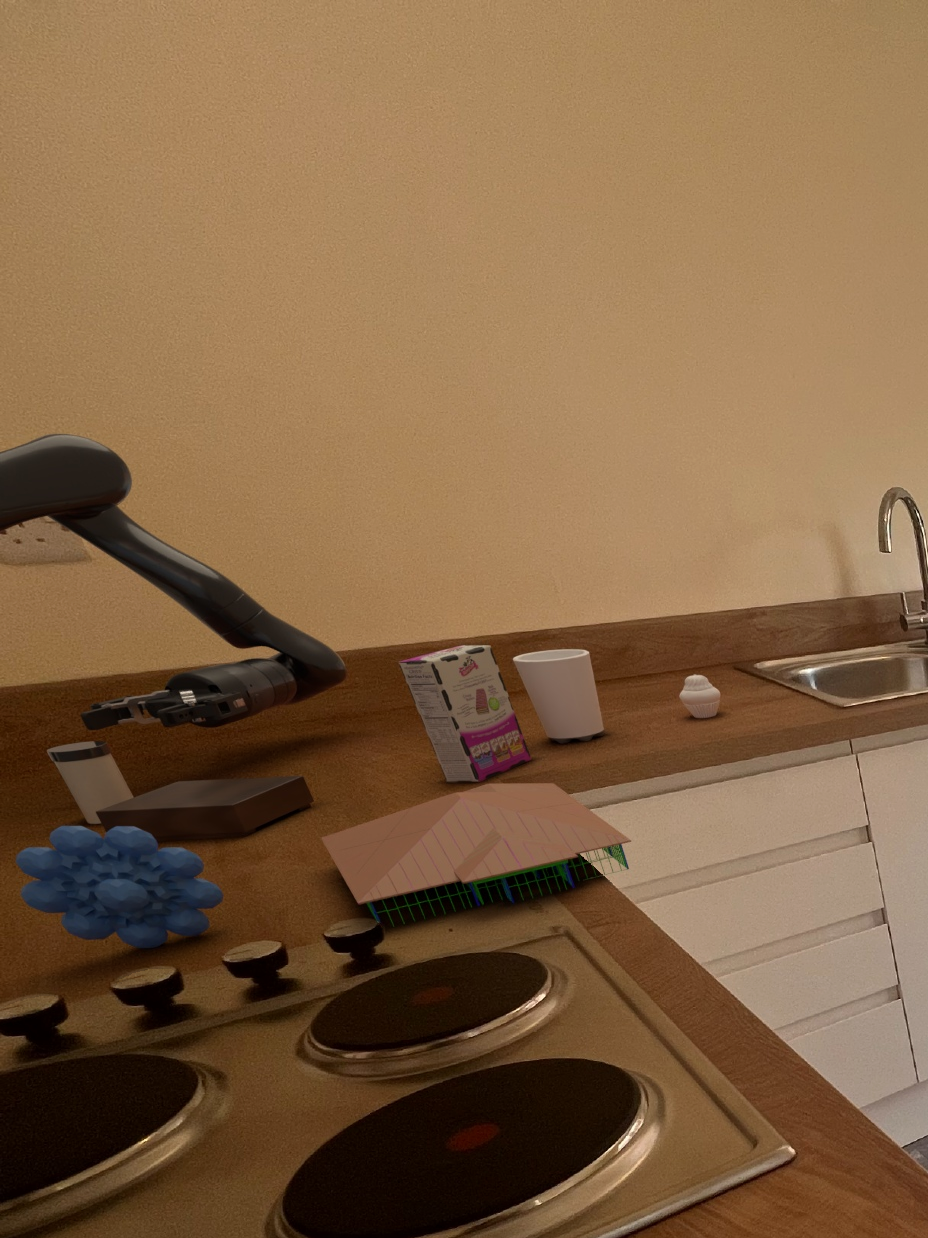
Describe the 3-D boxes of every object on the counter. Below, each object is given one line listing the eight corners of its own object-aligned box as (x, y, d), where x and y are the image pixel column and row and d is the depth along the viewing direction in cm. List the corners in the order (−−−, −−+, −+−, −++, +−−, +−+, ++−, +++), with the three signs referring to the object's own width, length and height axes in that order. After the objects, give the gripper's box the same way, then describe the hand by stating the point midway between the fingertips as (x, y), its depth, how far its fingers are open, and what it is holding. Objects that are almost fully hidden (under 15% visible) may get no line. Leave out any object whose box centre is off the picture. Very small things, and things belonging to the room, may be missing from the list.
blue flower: (60, 983, 88) (-21, 851, 83) (65, 958, 93) (-11, 831, 87) (242, 942, 96) (179, 818, 90) (239, 920, 100) (179, 801, 95)
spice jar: (74, 825, 126) (33, 753, 122) (109, 812, 130) (71, 742, 126) (121, 823, 127) (82, 750, 122) (154, 810, 131) (117, 740, 127)
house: (377, 944, 95) (340, 861, 91) (327, 856, 116) (296, 785, 112) (648, 875, 109) (626, 801, 106) (561, 808, 130) (540, 744, 127)
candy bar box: (499, 760, 150) (458, 644, 143) (533, 760, 150) (493, 644, 143) (442, 783, 140) (395, 660, 133) (478, 783, 140) (433, 659, 133)
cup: (596, 727, 168) (572, 646, 162) (625, 736, 163) (601, 653, 157) (528, 740, 161) (500, 656, 155) (556, 749, 156) (528, 663, 150)
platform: (112, 844, 120) (94, 811, 118) (193, 812, 130) (177, 781, 128) (248, 837, 122) (232, 804, 120) (316, 805, 132) (303, 775, 130)
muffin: (700, 711, 178) (689, 670, 174) (733, 712, 177) (723, 670, 174) (676, 720, 172) (665, 677, 169) (710, 721, 171) (699, 678, 168)
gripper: (151, 668, 142) (44, 693, 128) (267, 664, 144) (174, 688, 130) (177, 722, 146) (76, 752, 131) (290, 718, 148) (202, 747, 133)
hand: (125, 720), depth 131 cm, fingers open, 8 cm apart
